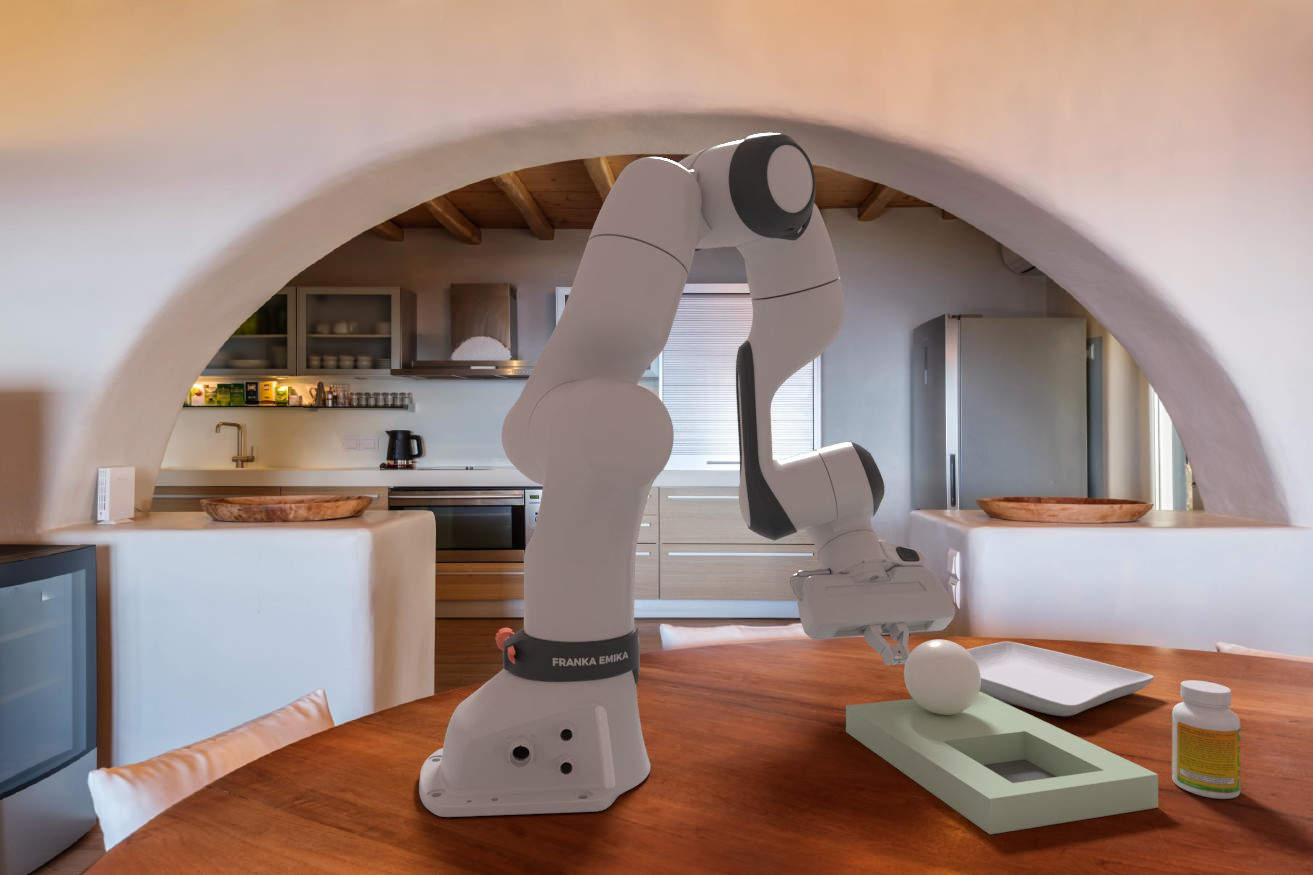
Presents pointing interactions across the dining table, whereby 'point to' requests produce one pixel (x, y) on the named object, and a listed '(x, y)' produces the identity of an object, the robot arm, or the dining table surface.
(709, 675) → the dining table surface
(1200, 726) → the supplement bottle
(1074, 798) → the putting deck
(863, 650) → the dining table surface
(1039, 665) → the salad plate
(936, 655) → the ball
